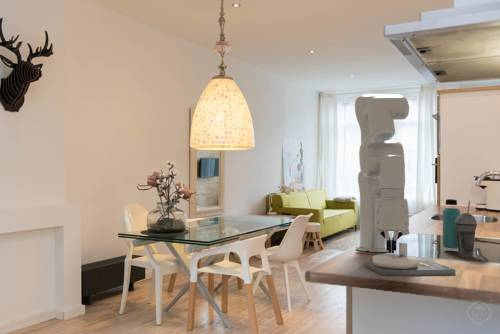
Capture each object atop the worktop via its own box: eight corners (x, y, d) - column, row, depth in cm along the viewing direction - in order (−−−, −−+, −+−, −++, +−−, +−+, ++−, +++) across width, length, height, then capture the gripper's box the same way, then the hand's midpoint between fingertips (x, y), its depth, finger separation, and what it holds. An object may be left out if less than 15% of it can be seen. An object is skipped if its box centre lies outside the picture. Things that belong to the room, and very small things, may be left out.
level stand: (363, 265, 145) (363, 260, 145) (429, 264, 148) (429, 259, 148) (382, 275, 130) (382, 269, 130) (455, 274, 133) (455, 268, 133)
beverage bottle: (462, 253, 173) (462, 199, 173) (444, 252, 174) (444, 199, 174) (458, 250, 179) (458, 199, 179) (440, 249, 180) (440, 198, 181)
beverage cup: (453, 254, 170) (454, 200, 170) (475, 255, 168) (475, 200, 168) (455, 257, 163) (455, 200, 164) (478, 258, 161) (478, 201, 161)
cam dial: (404, 270, 129) (404, 249, 130) (364, 263, 139) (364, 244, 139) (425, 264, 138) (425, 245, 139) (386, 259, 148) (386, 240, 148)
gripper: (366, 194, 142) (366, 253, 142) (417, 195, 138) (417, 256, 138) (367, 193, 150) (366, 249, 149) (415, 194, 146) (415, 252, 145)
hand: (391, 252), depth 144 cm, fingers closed
